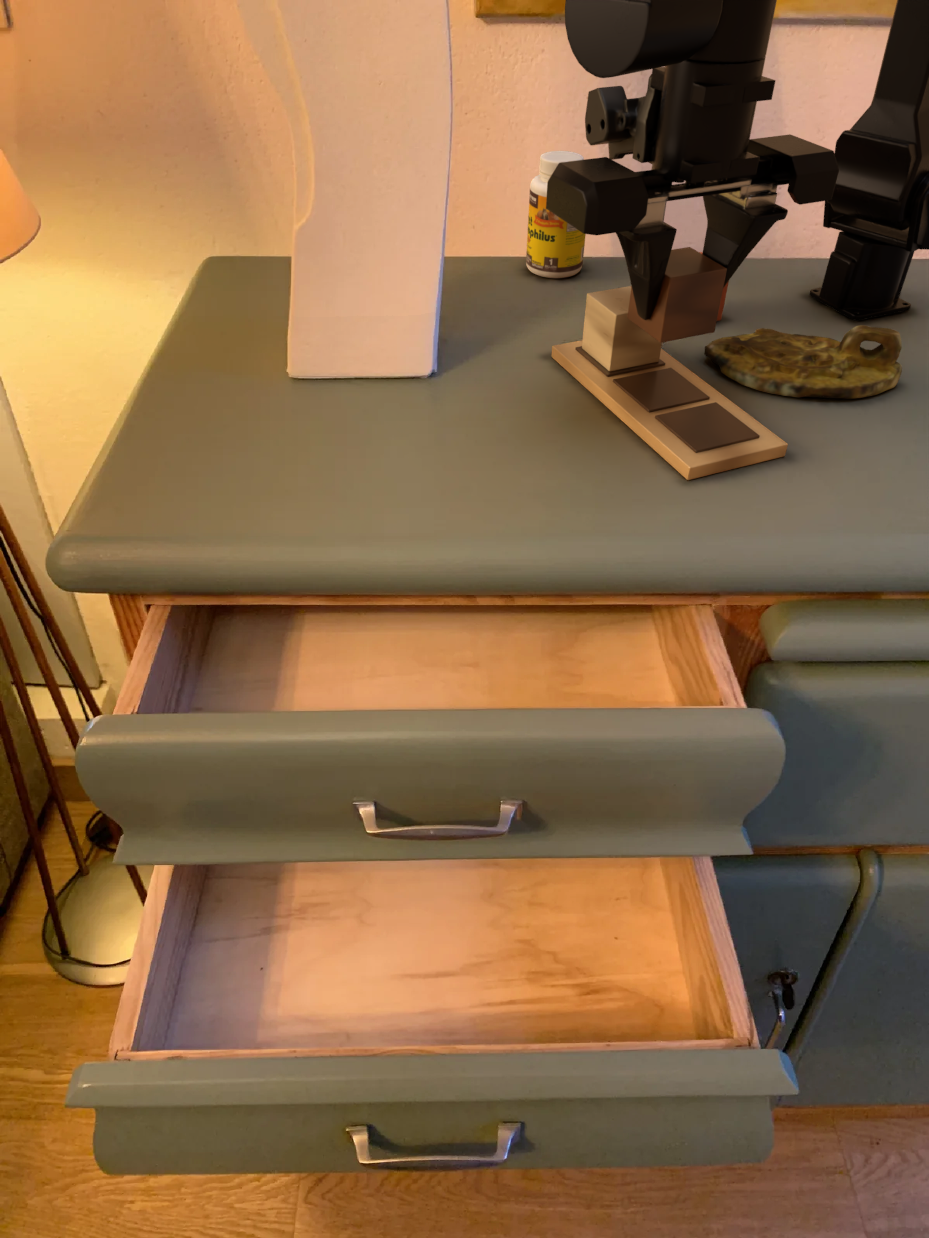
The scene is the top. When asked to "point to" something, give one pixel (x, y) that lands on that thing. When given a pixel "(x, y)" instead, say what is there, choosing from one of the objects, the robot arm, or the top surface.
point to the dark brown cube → (684, 298)
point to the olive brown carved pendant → (811, 362)
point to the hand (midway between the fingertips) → (673, 312)
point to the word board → (661, 394)
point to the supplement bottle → (551, 227)
